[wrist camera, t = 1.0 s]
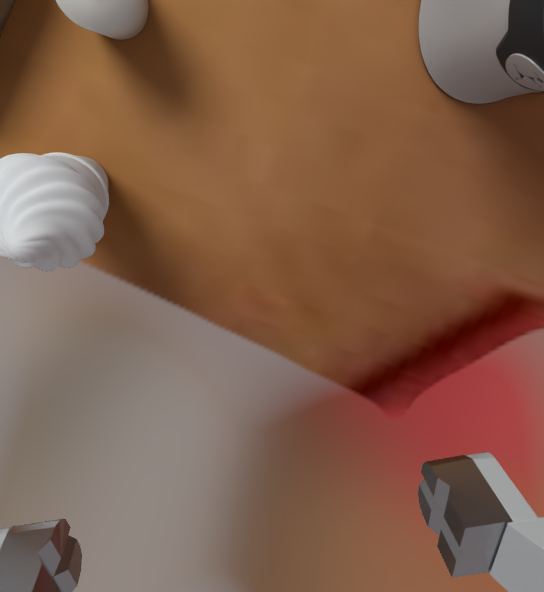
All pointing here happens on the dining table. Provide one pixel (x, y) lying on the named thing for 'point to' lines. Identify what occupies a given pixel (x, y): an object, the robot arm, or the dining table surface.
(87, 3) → the white wax pillar
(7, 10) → the holder
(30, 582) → the robot arm
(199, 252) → the dining table surface
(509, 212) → the dining table surface
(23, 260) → the soft serve ice cream cone
